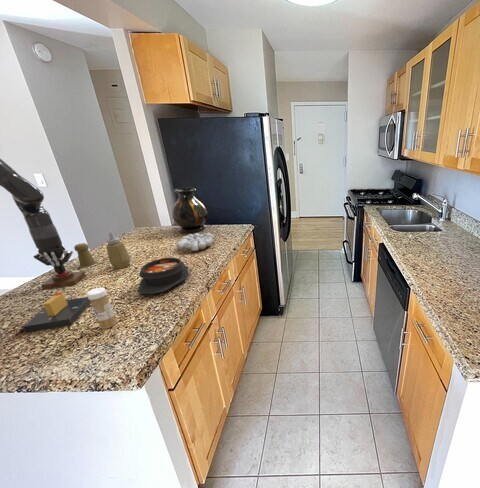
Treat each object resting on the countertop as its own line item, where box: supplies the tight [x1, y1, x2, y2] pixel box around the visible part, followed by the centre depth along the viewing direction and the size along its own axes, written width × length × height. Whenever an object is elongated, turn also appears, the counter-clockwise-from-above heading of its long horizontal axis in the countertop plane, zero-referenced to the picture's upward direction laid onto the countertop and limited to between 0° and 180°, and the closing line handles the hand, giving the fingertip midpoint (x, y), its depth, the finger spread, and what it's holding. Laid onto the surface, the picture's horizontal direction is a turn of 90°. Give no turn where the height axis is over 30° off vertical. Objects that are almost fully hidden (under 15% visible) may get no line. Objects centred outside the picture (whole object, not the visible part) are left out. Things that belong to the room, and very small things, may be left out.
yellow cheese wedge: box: [42, 292, 68, 316], centre depth 90 cm, size 6×2×5 cm, turn 13°
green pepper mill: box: [73, 242, 97, 268], centre depth 128 cm, size 6×6×11 cm
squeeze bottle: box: [106, 231, 131, 270], centre depth 124 cm, size 8×8×18 cm
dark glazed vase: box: [171, 187, 209, 234], centre depth 175 cm, size 22×22×28 cm
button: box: [55, 270, 68, 277], centre depth 112 cm, size 4×4×2 cm
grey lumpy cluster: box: [175, 232, 215, 252], centre depth 151 cm, size 22×21×6 cm
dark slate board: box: [22, 296, 91, 334], centre depth 91 cm, size 12×14×3 cm
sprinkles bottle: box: [86, 287, 118, 330], centre depth 85 cm, size 5×5×13 cm
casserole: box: [137, 257, 190, 295], centre depth 112 cm, size 25×19×8 cm
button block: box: [40, 270, 86, 290], centre depth 113 cm, size 11×9×4 cm
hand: (61, 272), depth 112 cm, fingers closed
